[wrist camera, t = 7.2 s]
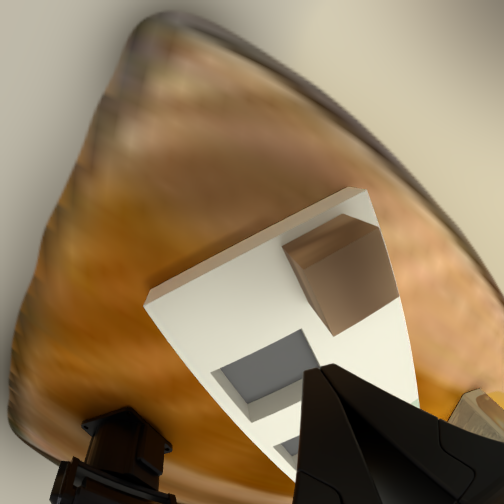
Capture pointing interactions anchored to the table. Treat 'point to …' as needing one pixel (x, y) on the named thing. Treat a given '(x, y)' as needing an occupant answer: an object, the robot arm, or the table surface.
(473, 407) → the skincare box
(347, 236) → the walnut block
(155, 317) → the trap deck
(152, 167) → the table surface
